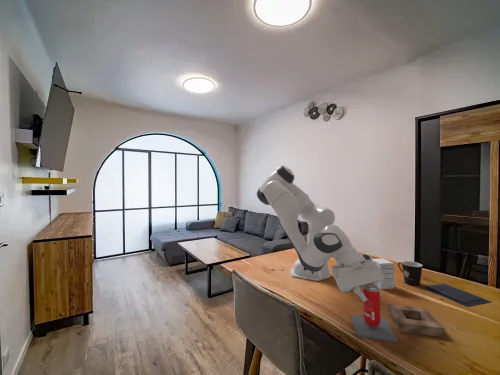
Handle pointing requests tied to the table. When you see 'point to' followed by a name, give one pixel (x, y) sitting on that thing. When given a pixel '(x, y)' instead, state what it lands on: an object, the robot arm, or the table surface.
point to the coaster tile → (373, 329)
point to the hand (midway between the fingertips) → (372, 298)
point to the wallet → (456, 295)
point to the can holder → (422, 326)
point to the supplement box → (386, 273)
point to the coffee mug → (411, 272)
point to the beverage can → (372, 306)
